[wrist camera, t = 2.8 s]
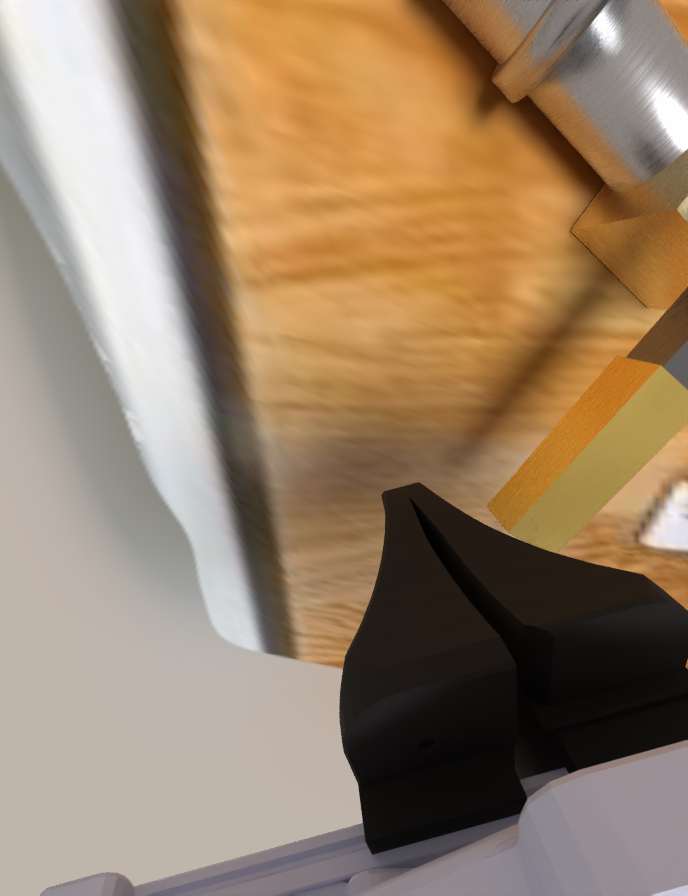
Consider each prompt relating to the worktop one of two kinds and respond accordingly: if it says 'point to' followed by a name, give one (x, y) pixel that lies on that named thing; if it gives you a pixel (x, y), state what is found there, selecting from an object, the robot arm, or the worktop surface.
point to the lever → (602, 438)
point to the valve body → (607, 119)
